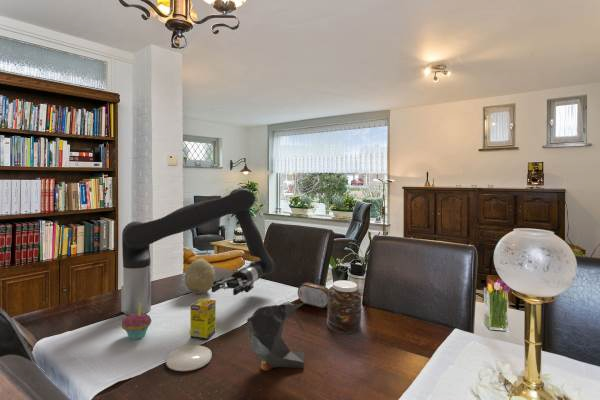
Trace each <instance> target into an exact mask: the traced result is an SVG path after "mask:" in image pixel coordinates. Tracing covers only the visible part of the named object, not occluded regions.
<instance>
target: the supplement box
mask: <svg viewBox="0 0 600 400" xmlns="http://www.w3.org/2000/svg"><path fill="white" fill-rule="evenodd" d="M215 333H216V299H209V298H208V299H207V298H198V299H197V300H196V301H194V302H192V303H191V304H190V339H194V340H201V341H208V340H209V339H210V338H212V336H213V335H214V334H215Z"/></svg>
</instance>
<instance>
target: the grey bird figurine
mask: <svg viewBox="0 0 600 400" xmlns="http://www.w3.org/2000/svg"><path fill="white" fill-rule="evenodd" d="M303 305H305V303H303V302H302V303H296V304H294V303H291V301H286V302H283V303H281V304H279V305H276V304H274V305H266V306H261V307H260V306H259V307H258V308H257V309H256V310H255V311H254V312H253V314H252V315H251V316H250V317H248V318H247V321H246V328H247V330H248V334H249V338H250V341H251V347H252V351H253V354H254V355H256V356H257V358H258V359H260V360H261V362H260V369H261V370H262V371H265V372H268V371H270V370H272V369H273V368H295V369H296V368H297V369H299V368H300V369H301V368H302V369H304V368H305V351H304V352H303V351H294V350H293V351H292V350H291V349H290V348H289V347H288V346H287V344H286V343H285V341H284V340H283V338H282V333H283V330H284V329H283V327H284V323H285V320H286V319H287V317H289V315H291V317H293V319H294V320H295V322H296V323H297V324H298V326H299V327H300V328H301V329H302V331H303V332H305V331H304V328H303V326H302V323H301V321H300V319H299V317H298V315H297V312H296V310H297V309H298V308H300V307H302V306H303Z"/></svg>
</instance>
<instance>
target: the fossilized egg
mask: <svg viewBox="0 0 600 400" xmlns="http://www.w3.org/2000/svg"><path fill="white" fill-rule="evenodd" d="M215 280H216V273H215V270H214V268H213V265H212V264H211V263H210V262H208V260H206V259H204V258H198V259H195V260H194V261H192V262H191V263H190V264H189V265H188V267H187V269H186V270H185V273H184V284H185V286H186V288H187V289H188V290H189V292H191V293H193V294H196V295H203V294H205V293H208V291H210V290H212V286H213V281H215Z"/></svg>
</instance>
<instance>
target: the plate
mask: <svg viewBox="0 0 600 400" xmlns="http://www.w3.org/2000/svg"><path fill="white" fill-rule="evenodd" d="M212 354H213V353H212V351H211V349H210V348H208V347H206V346H203V345H196V344H195V345H194V344H193V345H186V346H182V347H178V348H176V349H174V350H172V351H171V352H169V353H168V354H167V356H166V358H165V364H166V366H167V368H169V369H170V370H173V371H176V372H177V371H178V372H189V371H194V370H198V369H200V368H202V367H205V366H206V365H208V364H209V362H210V361H211V360H212V356H213V355H212Z"/></svg>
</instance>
